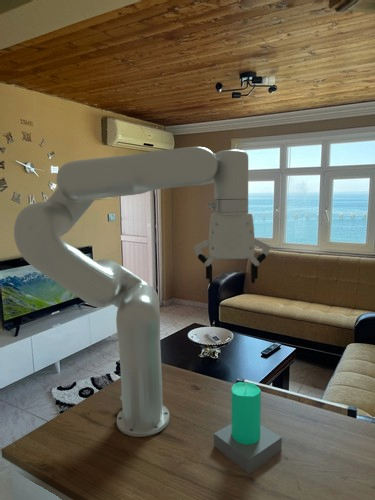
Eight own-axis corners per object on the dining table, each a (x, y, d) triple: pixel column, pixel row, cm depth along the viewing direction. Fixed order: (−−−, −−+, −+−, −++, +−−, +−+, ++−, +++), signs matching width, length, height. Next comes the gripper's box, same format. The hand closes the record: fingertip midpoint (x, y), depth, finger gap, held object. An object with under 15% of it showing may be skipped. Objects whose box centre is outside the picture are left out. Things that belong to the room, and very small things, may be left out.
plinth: (214, 446, 77) (213, 433, 77) (246, 427, 83) (246, 415, 83) (249, 473, 69) (249, 459, 69) (281, 450, 76) (281, 437, 75)
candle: (260, 446, 73) (260, 391, 71) (230, 442, 74) (230, 388, 72) (260, 427, 78) (260, 375, 77) (232, 424, 80) (232, 373, 78)
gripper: (191, 209, 78) (193, 286, 80) (273, 207, 76) (272, 286, 79) (193, 207, 85) (195, 278, 88) (268, 206, 83) (267, 278, 86)
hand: (231, 282), depth 83 cm, fingers open, 9 cm apart
